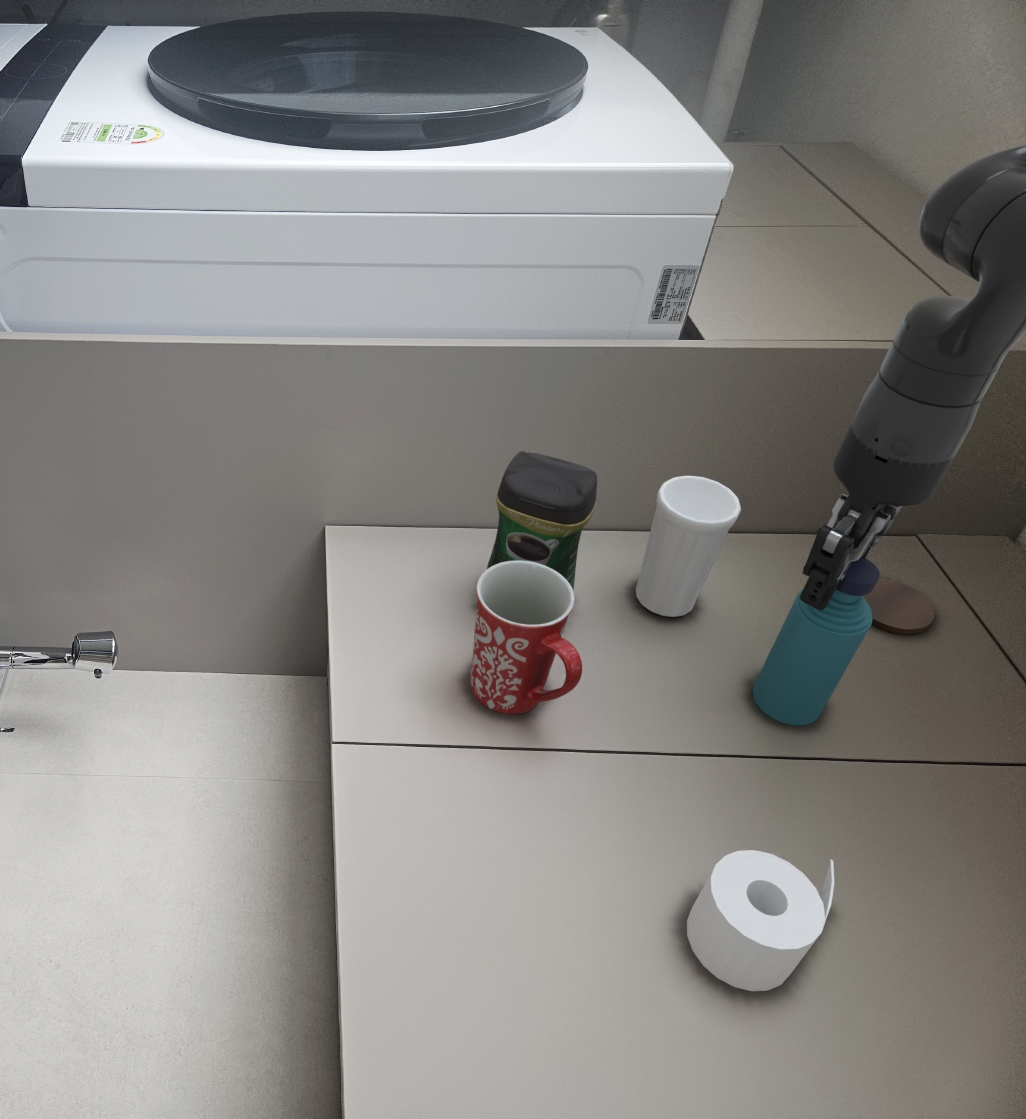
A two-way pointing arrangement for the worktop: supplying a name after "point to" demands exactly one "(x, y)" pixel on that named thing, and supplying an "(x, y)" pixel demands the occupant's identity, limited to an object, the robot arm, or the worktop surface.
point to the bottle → (810, 657)
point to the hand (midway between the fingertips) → (827, 588)
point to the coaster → (899, 607)
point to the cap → (859, 578)
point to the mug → (521, 636)
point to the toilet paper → (757, 919)
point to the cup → (684, 542)
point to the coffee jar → (543, 512)
